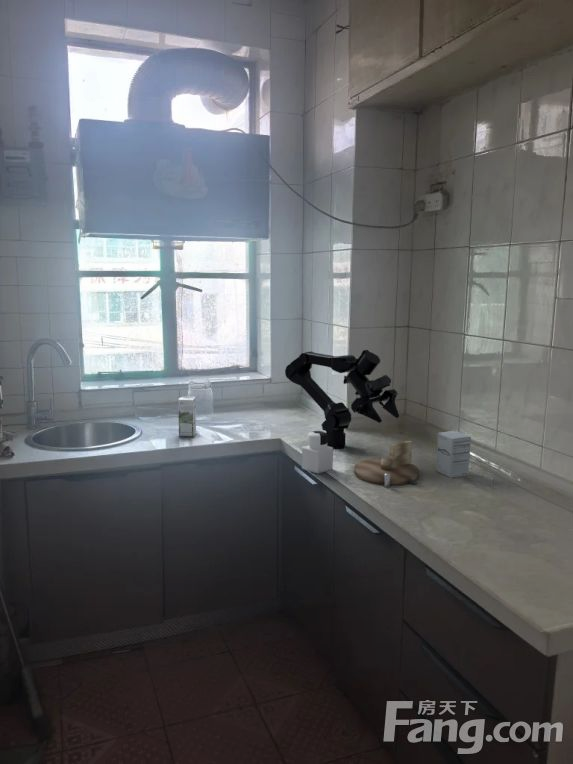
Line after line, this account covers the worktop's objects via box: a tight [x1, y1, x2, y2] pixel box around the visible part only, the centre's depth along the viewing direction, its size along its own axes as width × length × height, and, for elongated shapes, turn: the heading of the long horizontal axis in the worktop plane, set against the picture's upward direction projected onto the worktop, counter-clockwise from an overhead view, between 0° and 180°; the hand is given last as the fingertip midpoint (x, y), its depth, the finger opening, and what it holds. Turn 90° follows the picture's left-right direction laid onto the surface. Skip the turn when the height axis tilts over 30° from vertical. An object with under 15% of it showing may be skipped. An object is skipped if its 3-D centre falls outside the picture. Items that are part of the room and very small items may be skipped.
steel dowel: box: [383, 473, 391, 489], centre depth 177 cm, size 2×2×4 cm
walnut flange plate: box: [353, 440, 421, 486], centre depth 187 cm, size 20×22×9 cm
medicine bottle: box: [301, 430, 334, 475], centre depth 192 cm, size 7×7×12 cm
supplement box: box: [435, 430, 472, 479], centre depth 189 cm, size 7×7×13 cm
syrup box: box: [177, 396, 197, 438], centre depth 229 cm, size 6×6×14 cm
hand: (389, 419), depth 198 cm, fingers open, 9 cm apart
